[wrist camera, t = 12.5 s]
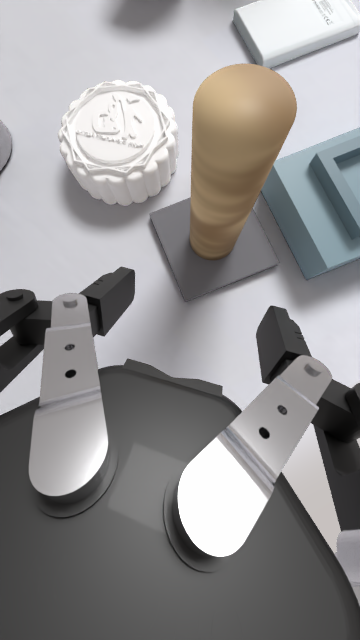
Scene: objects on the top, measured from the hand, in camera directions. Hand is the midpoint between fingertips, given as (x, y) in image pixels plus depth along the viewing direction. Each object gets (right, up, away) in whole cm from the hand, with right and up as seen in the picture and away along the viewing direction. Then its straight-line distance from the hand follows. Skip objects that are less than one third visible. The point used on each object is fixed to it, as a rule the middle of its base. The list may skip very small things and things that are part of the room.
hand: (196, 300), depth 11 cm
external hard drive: (+13, +34, +13) cm, 38 cm away
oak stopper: (+2, +7, +8) cm, 11 cm away
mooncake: (-7, +17, +11) cm, 21 cm away
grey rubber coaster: (+2, +7, +9) cm, 12 cm away
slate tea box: (+16, +10, +9) cm, 21 cm away
